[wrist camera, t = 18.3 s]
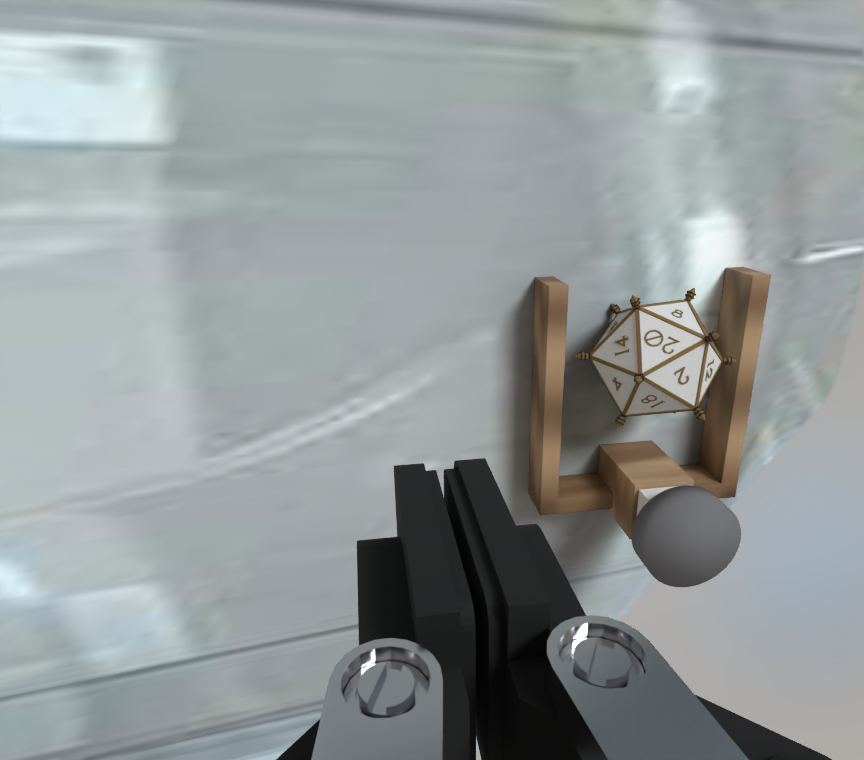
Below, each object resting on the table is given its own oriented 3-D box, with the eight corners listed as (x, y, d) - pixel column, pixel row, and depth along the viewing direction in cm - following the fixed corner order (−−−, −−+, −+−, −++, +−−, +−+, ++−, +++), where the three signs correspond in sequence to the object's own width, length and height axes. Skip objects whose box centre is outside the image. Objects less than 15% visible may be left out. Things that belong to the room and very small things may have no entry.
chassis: (535, 277, 40) (576, 303, 33) (742, 267, 42) (826, 289, 34) (528, 499, 46) (562, 563, 38) (711, 482, 47) (777, 541, 40)
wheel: (621, 473, 39) (649, 505, 35) (711, 466, 39) (747, 496, 36) (614, 554, 41) (640, 591, 37) (700, 545, 41) (733, 581, 38)
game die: (582, 338, 46) (533, 375, 38) (665, 249, 41) (629, 271, 33) (674, 423, 44) (643, 482, 36) (771, 341, 40) (761, 387, 31)
